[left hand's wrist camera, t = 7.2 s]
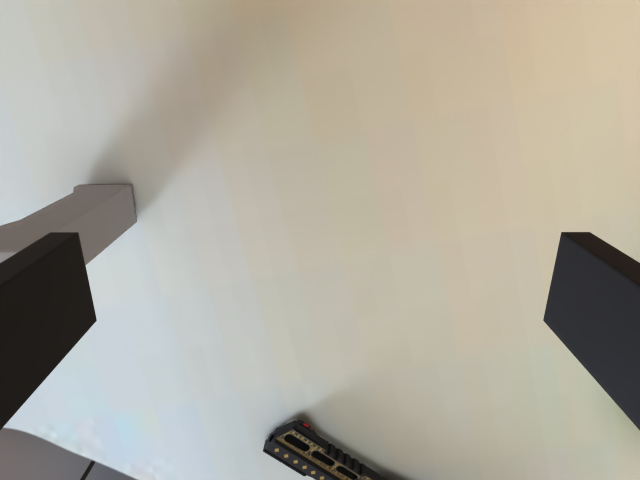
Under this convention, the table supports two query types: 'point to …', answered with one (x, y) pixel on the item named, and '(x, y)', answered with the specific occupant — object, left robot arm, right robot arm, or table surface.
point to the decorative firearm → (314, 455)
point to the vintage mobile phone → (76, 220)
